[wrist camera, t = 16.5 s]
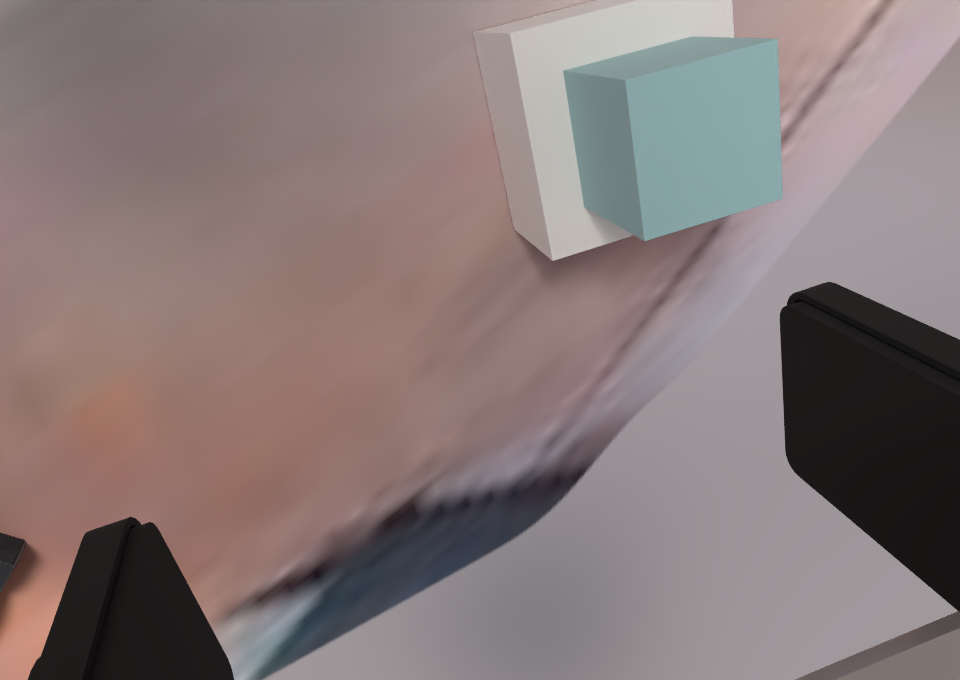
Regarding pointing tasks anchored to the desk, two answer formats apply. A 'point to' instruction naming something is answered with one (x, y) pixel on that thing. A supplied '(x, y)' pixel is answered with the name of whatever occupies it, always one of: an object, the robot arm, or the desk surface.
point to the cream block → (544, 106)
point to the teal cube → (678, 132)
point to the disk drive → (9, 556)
